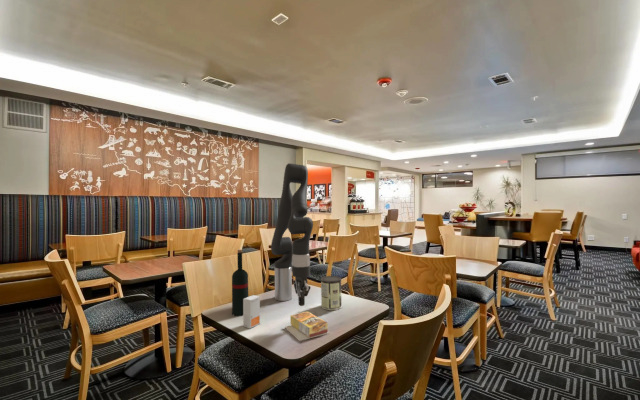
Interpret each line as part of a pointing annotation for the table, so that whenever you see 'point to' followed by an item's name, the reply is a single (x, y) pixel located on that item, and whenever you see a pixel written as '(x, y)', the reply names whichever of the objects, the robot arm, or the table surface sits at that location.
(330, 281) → the coffee can
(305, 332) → the candy box
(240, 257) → the wine bottle
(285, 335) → the table surface
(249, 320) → the skincare box
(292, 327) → the mat
